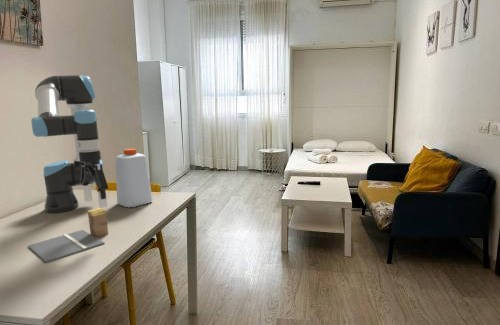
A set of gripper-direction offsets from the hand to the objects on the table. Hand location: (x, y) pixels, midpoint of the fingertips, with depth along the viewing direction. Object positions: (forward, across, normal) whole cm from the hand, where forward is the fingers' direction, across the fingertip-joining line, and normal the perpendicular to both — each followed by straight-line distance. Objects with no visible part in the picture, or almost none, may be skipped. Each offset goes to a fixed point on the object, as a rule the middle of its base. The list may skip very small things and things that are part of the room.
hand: (95, 203), depth 142 cm
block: (+13, 0, 0) cm, 13 cm away
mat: (+13, 0, -13) cm, 18 cm away
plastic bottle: (+12, -28, +31) cm, 44 cm away
